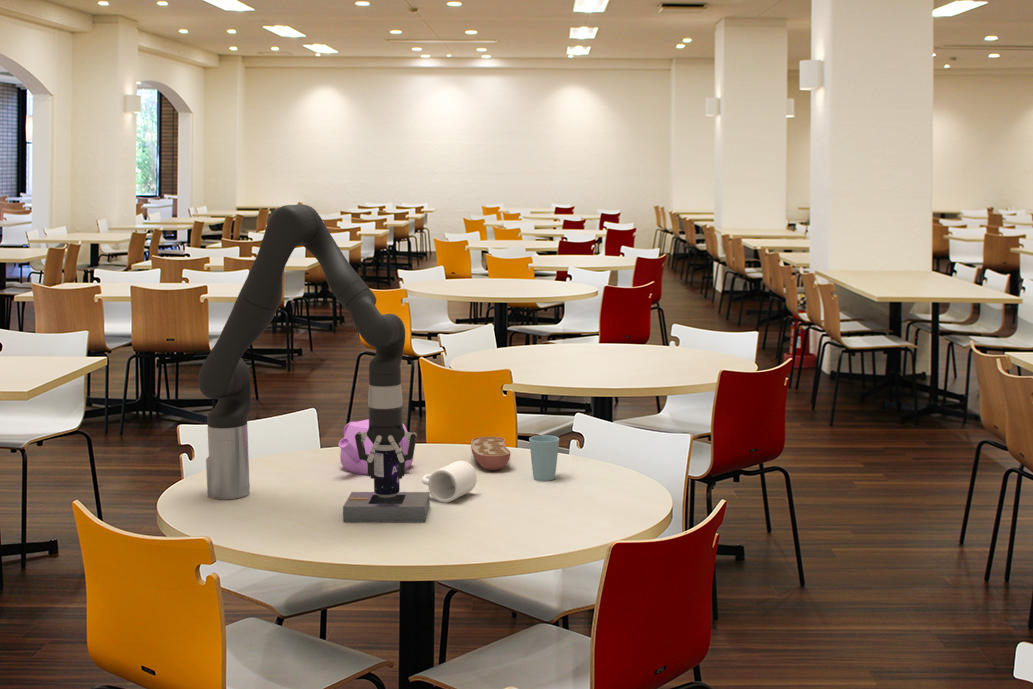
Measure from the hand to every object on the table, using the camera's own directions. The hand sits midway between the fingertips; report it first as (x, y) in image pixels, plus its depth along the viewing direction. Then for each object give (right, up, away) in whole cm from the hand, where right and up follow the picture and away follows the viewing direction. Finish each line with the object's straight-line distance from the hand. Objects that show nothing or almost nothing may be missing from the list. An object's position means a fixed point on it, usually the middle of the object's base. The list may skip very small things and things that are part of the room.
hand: (386, 477), depth 240 cm
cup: (+36, -4, +33) cm, 49 cm away
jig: (0, -8, +1) cm, 8 cm away
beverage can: (0, -4, 0) cm, 4 cm away
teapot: (-9, -3, +42) cm, 43 cm away
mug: (+12, -7, +16) cm, 21 cm away
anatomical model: (+22, -3, +49) cm, 53 cm away
